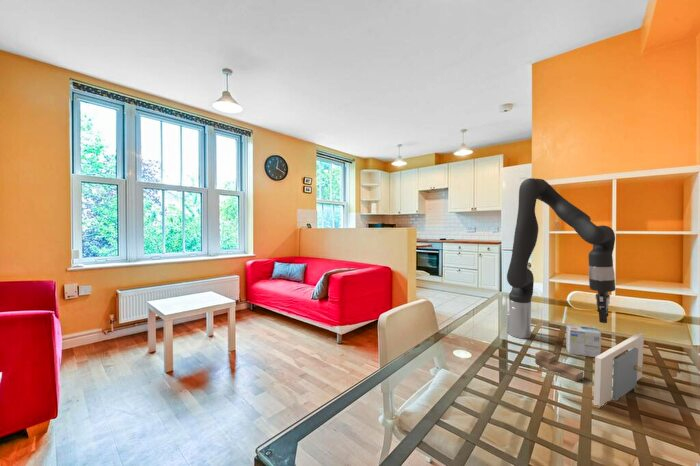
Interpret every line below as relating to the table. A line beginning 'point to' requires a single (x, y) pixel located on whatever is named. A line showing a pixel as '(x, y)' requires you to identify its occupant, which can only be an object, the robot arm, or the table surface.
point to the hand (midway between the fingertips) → (604, 319)
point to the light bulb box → (583, 340)
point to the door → (625, 373)
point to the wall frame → (606, 365)
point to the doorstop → (557, 366)
